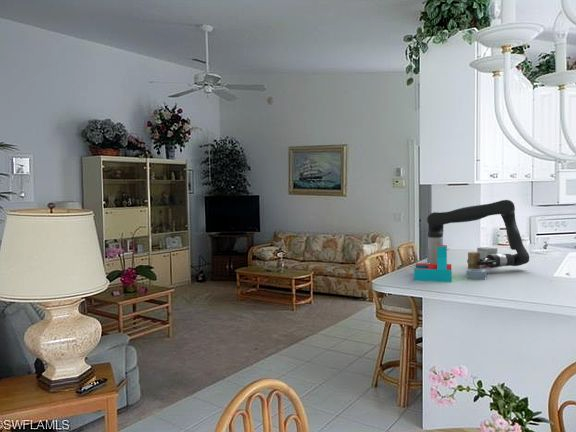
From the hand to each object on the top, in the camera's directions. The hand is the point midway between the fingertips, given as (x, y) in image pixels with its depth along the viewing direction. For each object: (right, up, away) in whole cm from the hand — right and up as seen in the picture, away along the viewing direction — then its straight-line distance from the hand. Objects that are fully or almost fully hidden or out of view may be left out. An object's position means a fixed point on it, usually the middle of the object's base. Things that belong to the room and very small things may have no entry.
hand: (472, 262), depth 268 cm
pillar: (+1, -6, +1) cm, 7 cm away
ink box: (+18, -5, +23) cm, 30 cm away
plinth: (-2, -7, -11) cm, 14 cm away
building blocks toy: (-24, -8, -6) cm, 26 cm away
